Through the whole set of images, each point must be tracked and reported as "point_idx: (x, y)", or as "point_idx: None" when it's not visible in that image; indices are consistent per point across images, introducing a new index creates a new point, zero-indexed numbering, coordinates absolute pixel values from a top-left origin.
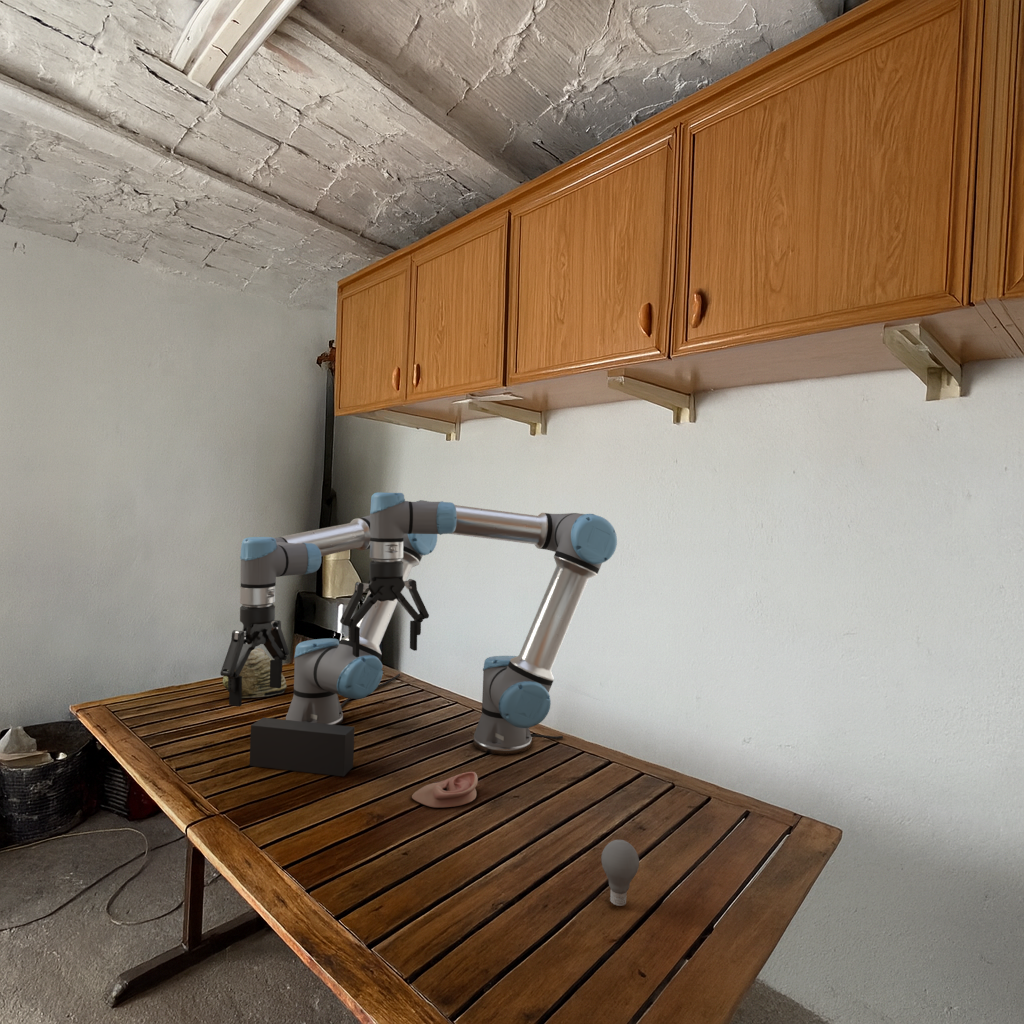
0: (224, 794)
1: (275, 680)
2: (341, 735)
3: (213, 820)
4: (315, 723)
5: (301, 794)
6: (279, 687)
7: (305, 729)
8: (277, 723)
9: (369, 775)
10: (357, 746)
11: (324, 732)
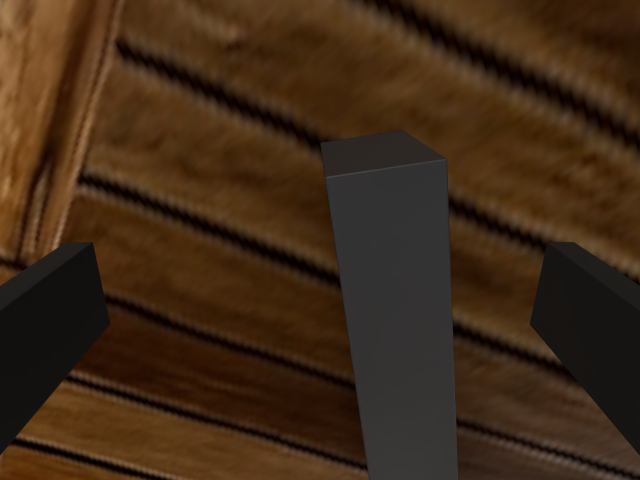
0: (126, 214)
1: (569, 326)
2: None
3: None
4: (448, 401)
5: (230, 382)
6: (535, 328)
7: (372, 405)
8: (393, 274)
9: None
10: None
11: (370, 469)
